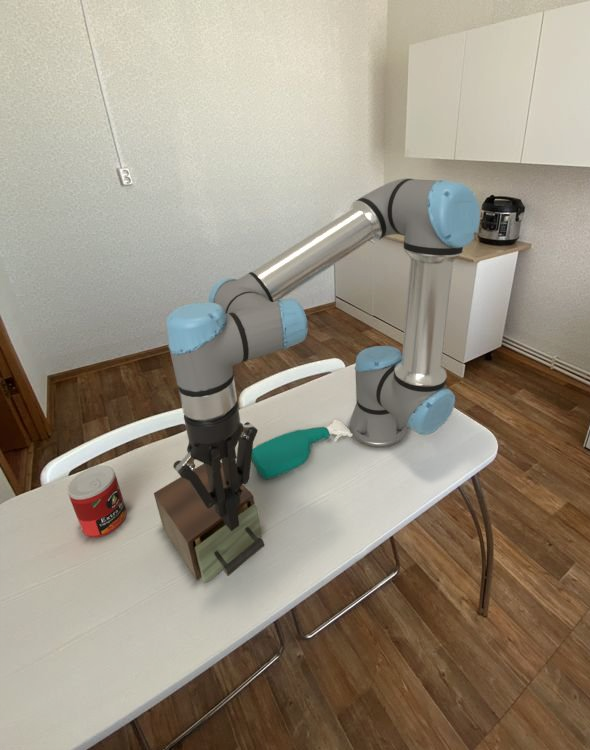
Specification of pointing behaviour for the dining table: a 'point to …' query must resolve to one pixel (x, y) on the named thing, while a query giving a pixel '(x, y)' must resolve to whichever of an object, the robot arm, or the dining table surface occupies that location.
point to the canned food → (97, 501)
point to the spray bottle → (292, 449)
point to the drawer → (229, 544)
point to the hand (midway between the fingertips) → (231, 523)
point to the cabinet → (190, 514)
